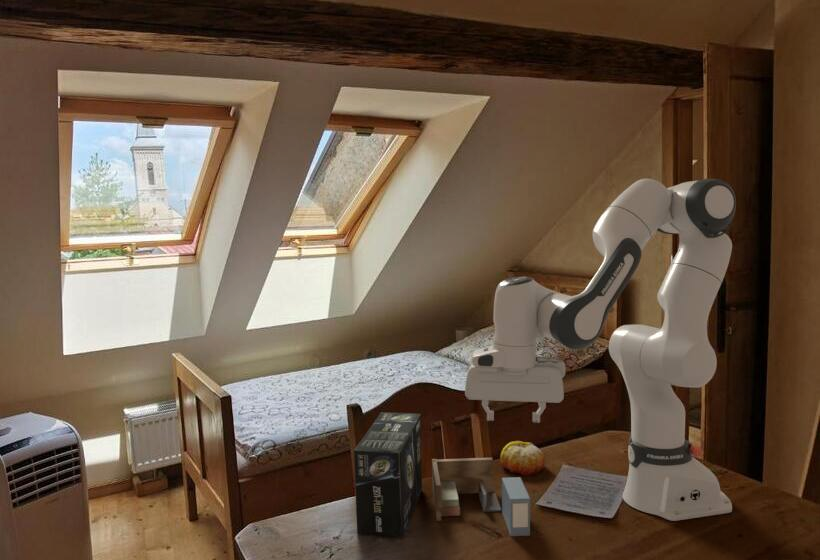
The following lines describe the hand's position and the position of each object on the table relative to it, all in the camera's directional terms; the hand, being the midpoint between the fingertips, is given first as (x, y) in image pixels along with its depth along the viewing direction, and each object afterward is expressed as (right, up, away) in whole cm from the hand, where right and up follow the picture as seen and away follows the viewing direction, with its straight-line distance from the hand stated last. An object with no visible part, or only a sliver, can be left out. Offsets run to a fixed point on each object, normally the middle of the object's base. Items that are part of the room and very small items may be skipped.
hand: (513, 420), depth 135 cm
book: (+1, -22, +2) cm, 22 cm away
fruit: (+7, -19, +29) cm, 35 cm away
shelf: (-9, -21, +11) cm, 25 cm away
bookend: (-4, -21, +11) cm, 24 cm away
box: (-25, -22, +8) cm, 35 cm away
